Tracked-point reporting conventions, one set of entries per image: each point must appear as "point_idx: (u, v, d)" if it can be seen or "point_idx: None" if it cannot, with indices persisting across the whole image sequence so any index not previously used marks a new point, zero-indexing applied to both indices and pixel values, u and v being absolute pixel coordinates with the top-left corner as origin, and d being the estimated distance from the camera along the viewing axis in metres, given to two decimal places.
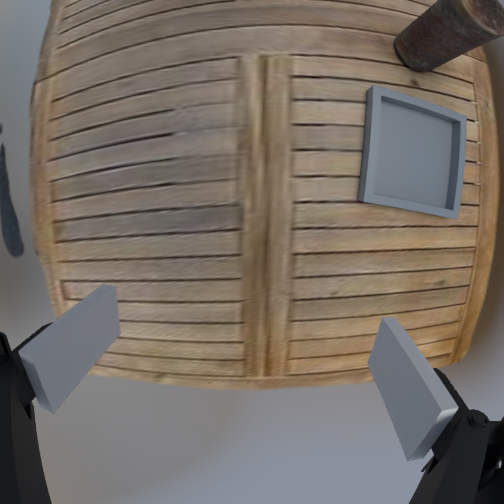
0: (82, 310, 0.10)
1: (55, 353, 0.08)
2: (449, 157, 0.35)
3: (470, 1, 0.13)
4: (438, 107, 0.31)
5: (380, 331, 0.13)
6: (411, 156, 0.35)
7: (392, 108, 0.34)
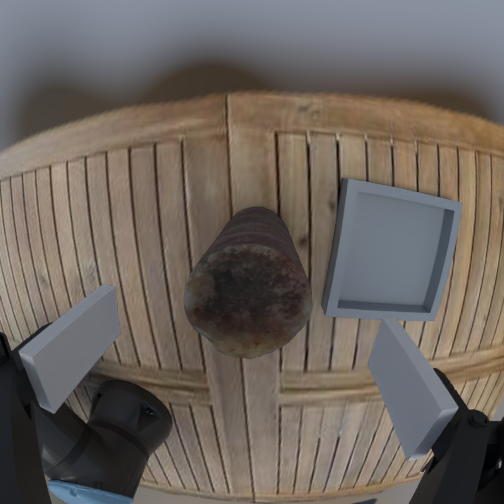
0: (82, 310, 0.10)
1: (55, 353, 0.08)
2: (394, 200, 0.32)
3: (251, 337, 0.16)
4: (344, 229, 0.31)
5: (380, 331, 0.13)
6: (395, 257, 0.34)
7: (343, 280, 0.35)
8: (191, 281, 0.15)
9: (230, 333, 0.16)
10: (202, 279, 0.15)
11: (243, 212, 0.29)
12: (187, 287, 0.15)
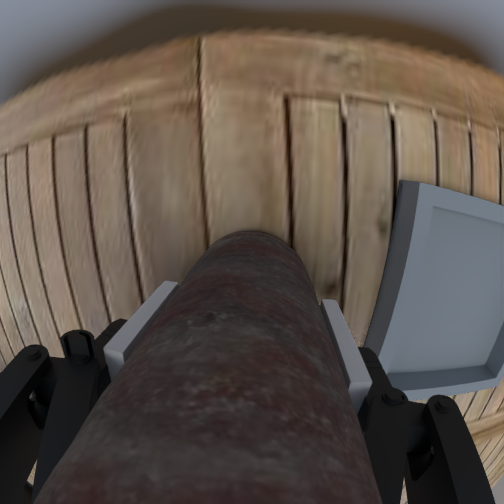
0: (155, 305, 0.12)
1: None
2: (474, 219, 0.17)
3: None
4: (408, 273, 0.16)
5: None
6: (465, 307, 0.19)
7: None
8: None
9: None
10: None
11: (222, 248, 0.14)
12: None
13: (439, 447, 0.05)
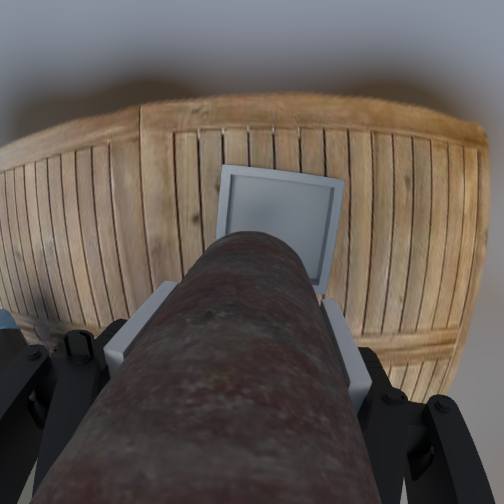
0: (156, 305, 0.12)
1: None
2: (274, 181, 0.39)
3: None
4: (220, 206, 0.38)
5: None
6: (279, 232, 0.41)
7: None
8: None
9: None
10: None
11: (221, 247, 0.14)
12: None
13: (439, 447, 0.05)
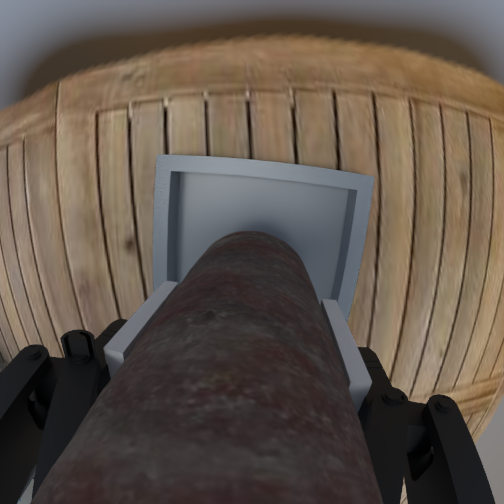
0: (155, 305, 0.12)
1: None
2: (249, 179, 0.23)
3: None
4: (157, 227, 0.22)
5: None
6: None
7: None
8: None
9: None
10: None
11: (222, 247, 0.14)
12: None
13: (439, 447, 0.05)
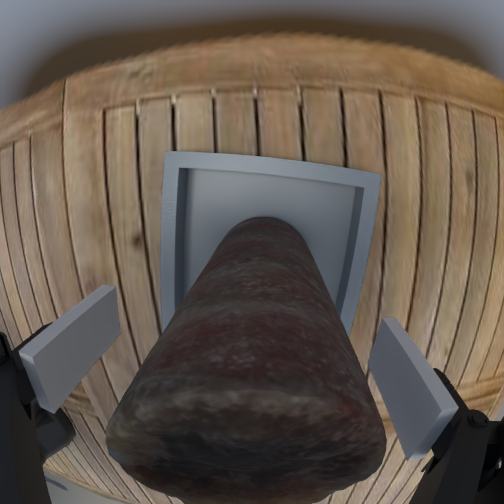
0: (82, 310, 0.10)
1: (55, 352, 0.08)
2: (257, 176, 0.23)
3: (254, 503, 0.06)
4: (165, 223, 0.22)
5: (380, 331, 0.13)
6: None
7: None
8: (111, 438, 0.05)
9: (212, 497, 0.06)
10: (134, 441, 0.05)
11: (244, 227, 0.19)
12: (108, 444, 0.05)
13: None
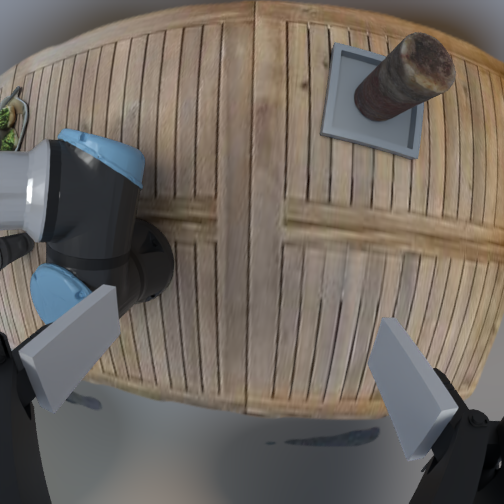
0: (82, 310, 0.10)
1: (55, 353, 0.08)
2: (371, 65, 0.38)
3: (432, 79, 0.21)
4: (333, 71, 0.37)
5: (380, 331, 0.13)
6: None
7: (336, 114, 0.41)
8: (406, 40, 0.20)
9: (422, 73, 0.21)
10: (411, 41, 0.20)
11: None
12: (404, 42, 0.20)
13: None
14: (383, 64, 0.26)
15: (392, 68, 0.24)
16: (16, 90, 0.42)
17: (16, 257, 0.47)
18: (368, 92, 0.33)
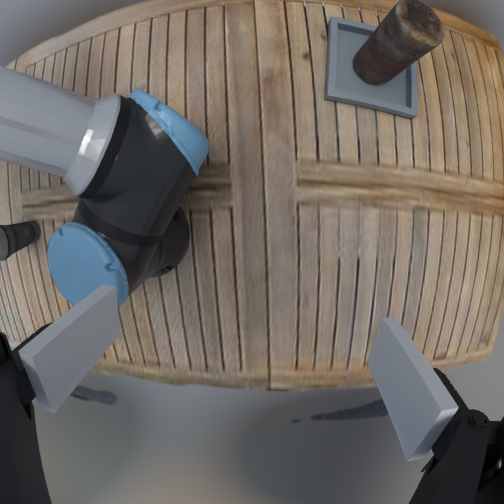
0: (82, 310, 0.10)
1: (55, 353, 0.08)
2: (365, 36, 0.38)
3: (425, 34, 0.22)
4: (332, 41, 0.37)
5: (380, 331, 0.13)
6: None
7: (337, 80, 0.41)
8: (399, 3, 0.20)
9: (416, 30, 0.21)
10: (403, 4, 0.20)
11: None
12: (398, 4, 0.20)
13: None
14: (380, 27, 0.26)
15: (389, 28, 0.24)
16: None
17: (23, 245, 0.47)
18: (367, 56, 0.33)
